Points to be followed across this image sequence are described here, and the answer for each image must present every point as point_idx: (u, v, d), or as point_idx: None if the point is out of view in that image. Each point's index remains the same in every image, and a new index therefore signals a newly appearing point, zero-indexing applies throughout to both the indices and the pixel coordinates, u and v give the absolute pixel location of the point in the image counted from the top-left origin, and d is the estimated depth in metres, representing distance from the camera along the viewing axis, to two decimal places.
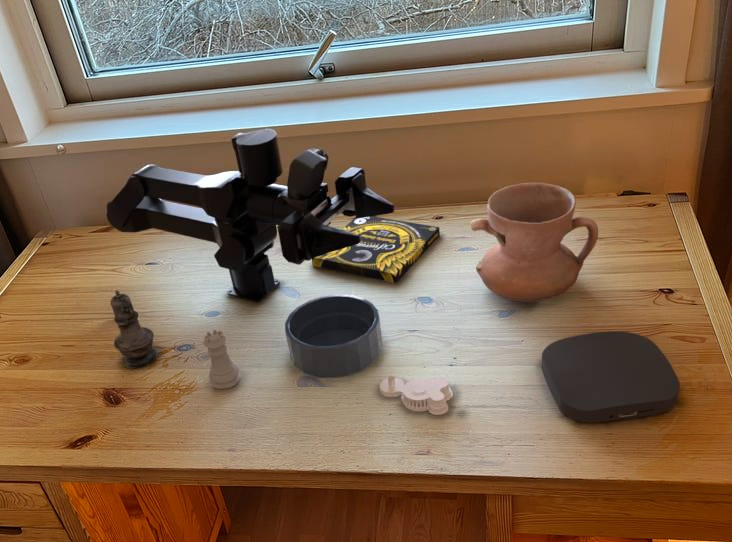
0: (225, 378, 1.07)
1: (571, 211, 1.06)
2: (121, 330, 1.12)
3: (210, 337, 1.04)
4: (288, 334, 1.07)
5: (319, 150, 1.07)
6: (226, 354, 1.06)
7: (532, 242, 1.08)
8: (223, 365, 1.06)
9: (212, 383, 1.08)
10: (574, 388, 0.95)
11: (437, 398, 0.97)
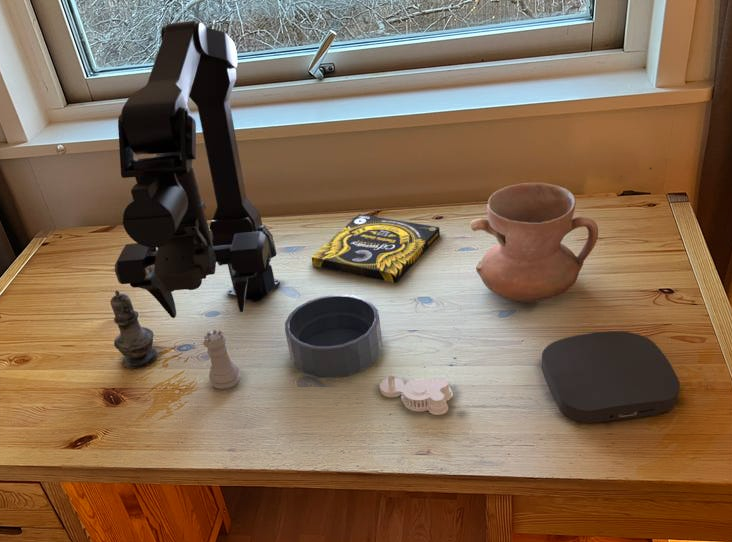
0: (225, 378, 1.07)
1: (571, 211, 1.06)
2: (121, 330, 1.12)
3: (210, 337, 1.04)
4: (288, 334, 1.07)
5: (200, 278, 0.89)
6: (226, 354, 1.06)
7: (532, 242, 1.08)
8: (223, 365, 1.06)
9: (212, 383, 1.08)
10: (574, 388, 0.95)
11: (437, 399, 0.97)
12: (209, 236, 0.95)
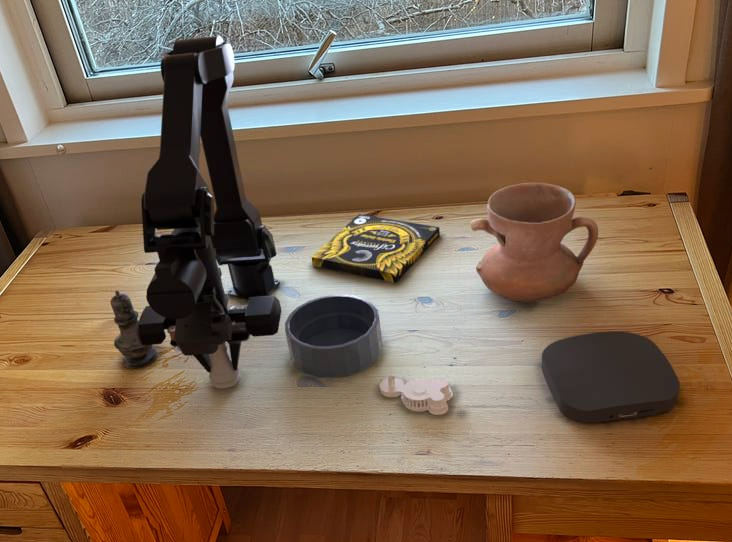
0: (225, 378, 1.07)
1: (571, 211, 1.06)
2: (121, 330, 1.12)
3: None
4: (288, 334, 1.07)
5: (217, 344, 0.95)
6: (226, 354, 1.06)
7: (532, 242, 1.08)
8: (224, 365, 1.06)
9: (212, 383, 1.08)
10: (574, 388, 0.95)
11: (437, 399, 0.97)
12: (225, 301, 1.01)
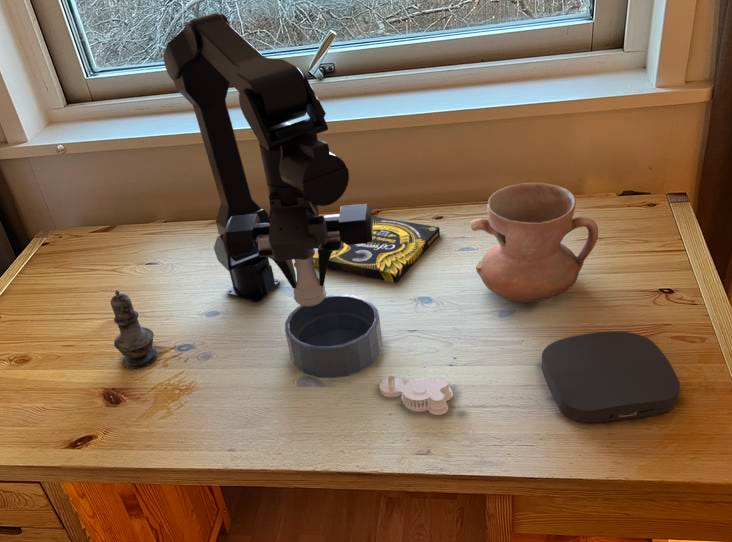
0: (311, 293, 1.02)
1: (571, 211, 1.06)
2: (121, 330, 1.12)
3: None
4: (288, 334, 1.07)
5: (314, 247, 0.91)
6: (313, 268, 1.02)
7: (532, 242, 1.08)
8: (310, 280, 1.02)
9: (297, 300, 1.04)
10: (574, 388, 0.95)
11: (437, 399, 0.97)
12: (317, 208, 0.96)
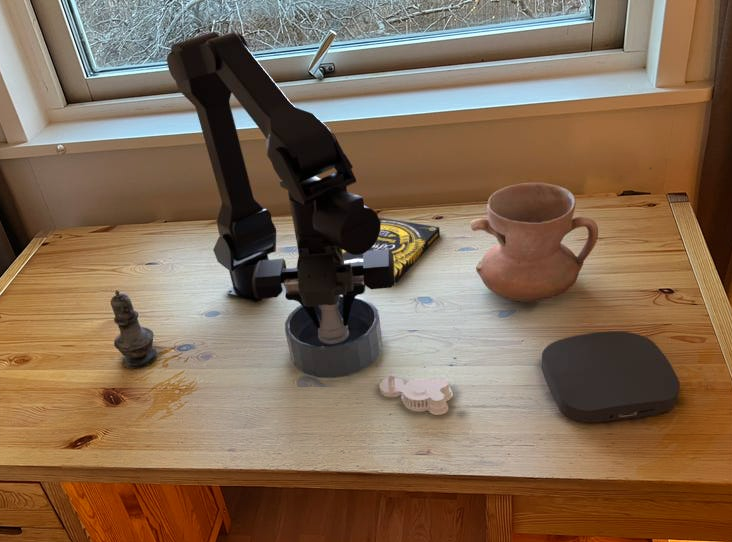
0: (335, 333, 1.07)
1: (571, 211, 1.06)
2: (121, 330, 1.12)
3: None
4: (288, 334, 1.07)
5: (341, 294, 0.96)
6: (337, 309, 1.06)
7: (532, 242, 1.08)
8: (335, 321, 1.07)
9: (321, 339, 1.09)
10: (574, 388, 0.95)
11: (437, 399, 0.97)
12: (342, 254, 1.01)
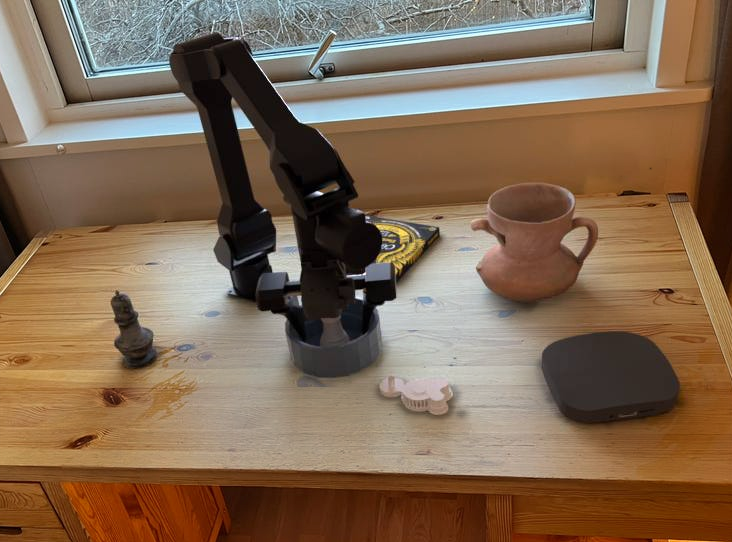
0: None
1: (571, 211, 1.06)
2: (121, 330, 1.12)
3: None
4: (288, 334, 1.07)
5: (344, 307, 0.97)
6: (339, 321, 1.08)
7: (532, 242, 1.08)
8: (336, 333, 1.08)
9: None
10: (574, 388, 0.95)
11: (437, 399, 0.97)
12: (344, 267, 1.02)
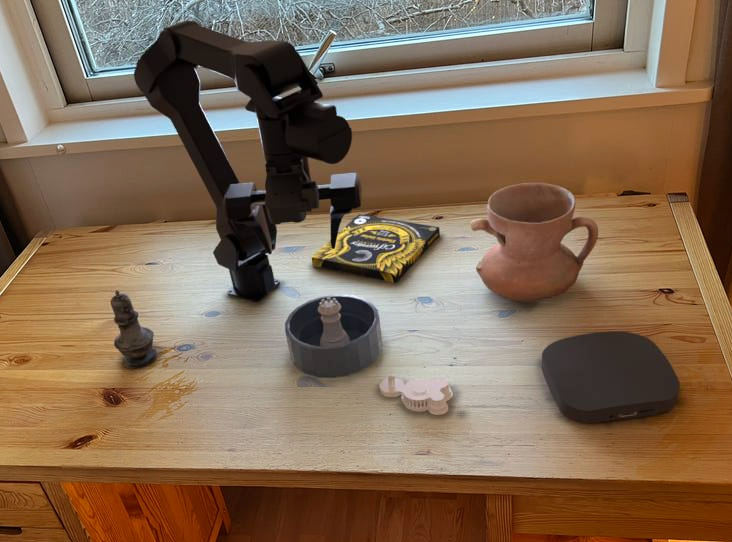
0: None
1: (571, 211, 1.06)
2: (121, 330, 1.12)
3: (325, 304, 1.06)
4: (288, 334, 1.07)
5: (307, 211, 0.99)
6: (339, 321, 1.08)
7: (532, 242, 1.08)
8: (336, 333, 1.08)
9: None
10: (574, 388, 0.95)
11: (437, 399, 0.97)
12: (310, 176, 1.04)
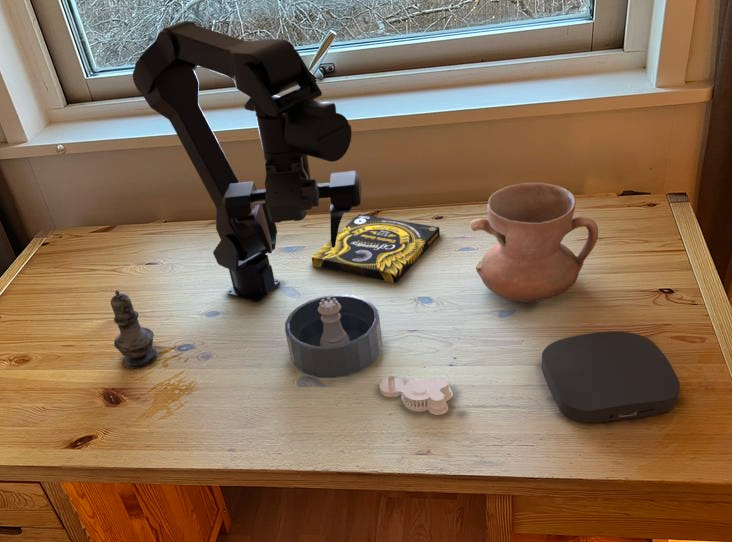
0: None
1: (571, 211, 1.06)
2: (121, 330, 1.12)
3: (325, 304, 1.06)
4: (288, 334, 1.07)
5: (307, 209, 0.99)
6: (339, 321, 1.08)
7: (532, 242, 1.08)
8: (336, 333, 1.08)
9: None
10: (574, 388, 0.95)
11: (437, 399, 0.97)
12: (309, 174, 1.04)
